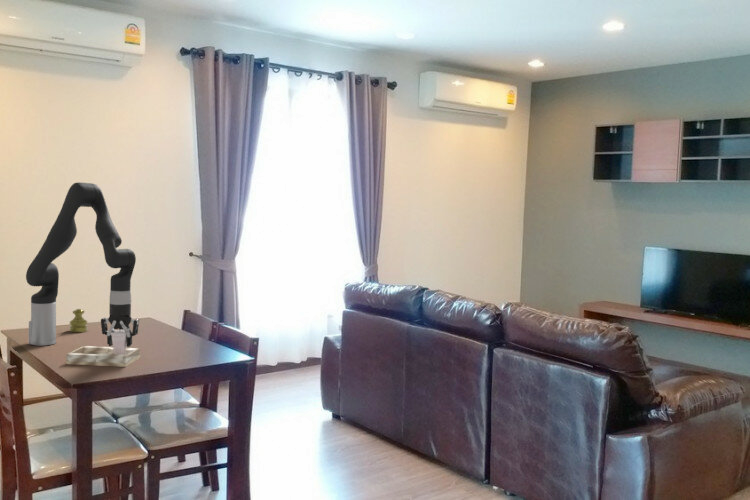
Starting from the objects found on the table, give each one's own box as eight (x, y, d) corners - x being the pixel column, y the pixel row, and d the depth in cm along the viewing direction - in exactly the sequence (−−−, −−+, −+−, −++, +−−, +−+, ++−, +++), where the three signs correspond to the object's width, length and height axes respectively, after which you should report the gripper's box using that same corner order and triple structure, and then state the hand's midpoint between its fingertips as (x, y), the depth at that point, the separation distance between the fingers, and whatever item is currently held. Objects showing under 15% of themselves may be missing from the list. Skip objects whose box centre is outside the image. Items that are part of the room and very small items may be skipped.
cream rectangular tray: (66, 364, 247) (66, 354, 247) (83, 355, 261) (83, 345, 261) (125, 366, 247) (125, 356, 246) (139, 357, 261) (139, 348, 260)
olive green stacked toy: (75, 328, 309) (75, 307, 308) (90, 330, 308) (90, 308, 307) (66, 332, 301) (66, 309, 300) (81, 333, 300) (81, 311, 299)
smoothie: (111, 359, 249) (111, 322, 248) (109, 355, 255) (109, 319, 254) (129, 358, 252) (130, 321, 251) (127, 354, 258) (127, 318, 257)
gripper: (96, 302, 248) (96, 347, 250) (135, 304, 248) (134, 349, 249) (105, 299, 256) (105, 343, 257) (143, 301, 256) (142, 344, 257)
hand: (119, 345), depth 253 cm, fingers closed on smoothie, 6 cm apart
